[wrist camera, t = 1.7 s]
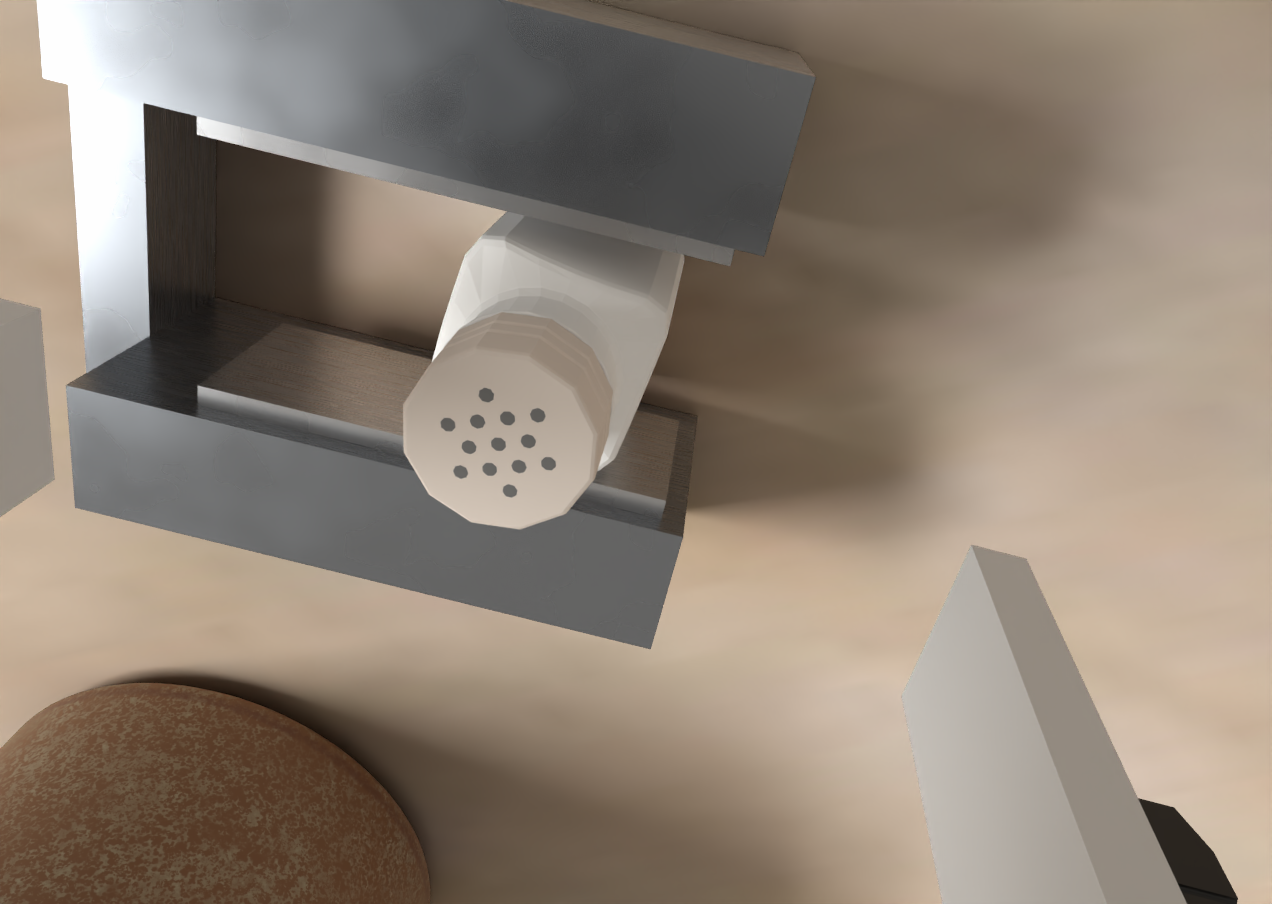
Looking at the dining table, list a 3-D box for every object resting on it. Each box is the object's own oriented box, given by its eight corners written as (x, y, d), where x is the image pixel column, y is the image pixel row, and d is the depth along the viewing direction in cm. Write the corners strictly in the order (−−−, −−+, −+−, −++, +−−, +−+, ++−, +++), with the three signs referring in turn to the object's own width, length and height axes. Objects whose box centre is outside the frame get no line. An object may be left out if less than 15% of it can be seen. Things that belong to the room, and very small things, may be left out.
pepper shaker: (695, 231, 22) (663, 382, 14) (636, 374, 24) (575, 585, 16) (539, 166, 22) (409, 281, 14) (490, 316, 24) (349, 499, 15)
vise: (158, 385, 26) (4, 490, 20) (146, -109, 20) (-69, -143, 15) (671, 511, 26) (650, 649, 20) (798, 52, 20) (816, 77, 15)
